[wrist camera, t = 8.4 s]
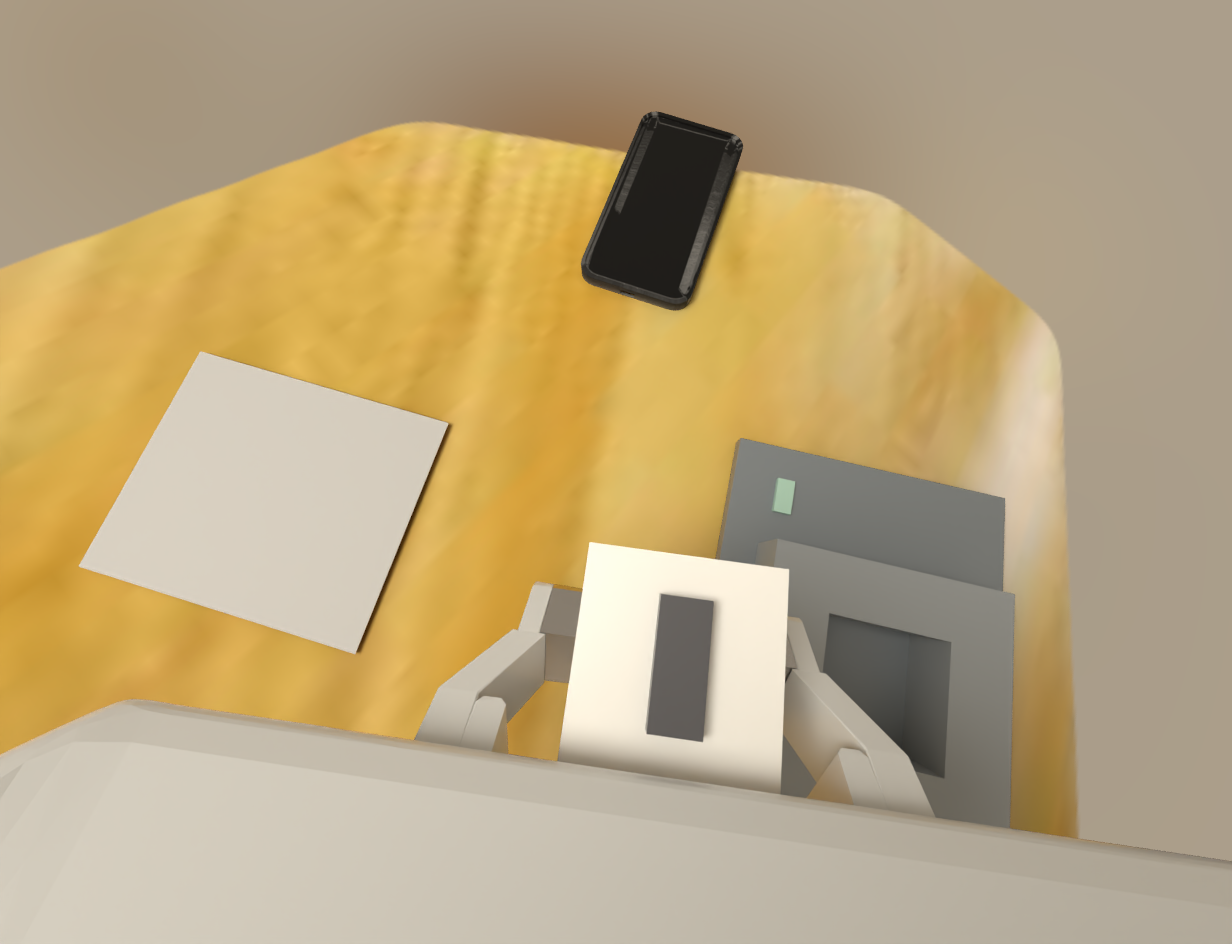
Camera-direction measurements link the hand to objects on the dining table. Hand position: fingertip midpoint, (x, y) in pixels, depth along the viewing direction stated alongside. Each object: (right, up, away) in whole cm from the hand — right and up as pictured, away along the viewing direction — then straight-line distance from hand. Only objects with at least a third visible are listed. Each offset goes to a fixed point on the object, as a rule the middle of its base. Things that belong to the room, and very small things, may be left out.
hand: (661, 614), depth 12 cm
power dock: (+11, -7, +13) cm, 19 cm away
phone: (+2, +23, +20) cm, 30 cm away
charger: (0, -2, +4) cm, 4 cm away
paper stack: (-16, +6, +16) cm, 23 cm away
